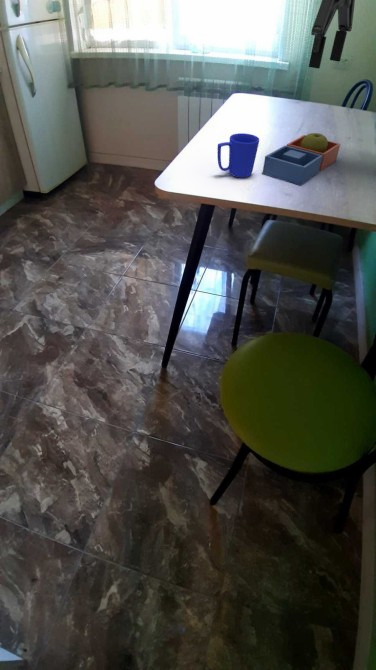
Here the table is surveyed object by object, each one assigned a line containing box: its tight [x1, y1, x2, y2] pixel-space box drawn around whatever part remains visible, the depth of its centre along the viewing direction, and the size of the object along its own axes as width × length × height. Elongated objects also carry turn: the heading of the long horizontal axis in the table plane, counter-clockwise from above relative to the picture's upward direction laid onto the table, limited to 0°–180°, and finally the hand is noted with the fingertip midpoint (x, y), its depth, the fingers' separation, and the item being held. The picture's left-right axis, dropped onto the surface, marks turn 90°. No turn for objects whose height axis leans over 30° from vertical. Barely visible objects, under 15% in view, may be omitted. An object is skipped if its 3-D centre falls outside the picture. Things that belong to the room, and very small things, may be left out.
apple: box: [301, 132, 329, 153], centre depth 127 cm, size 8×8×7 cm
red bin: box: [286, 134, 341, 173], centre depth 128 cm, size 12×12×5 cm
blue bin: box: [261, 144, 323, 186], centre depth 120 cm, size 12×12×5 cm
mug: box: [217, 132, 260, 178], centre depth 116 cm, size 8×12×10 cm
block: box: [282, 150, 306, 166], centre depth 120 cm, size 5×5×5 cm
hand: (324, 64), depth 108 cm, fingers open, 13 cm apart
